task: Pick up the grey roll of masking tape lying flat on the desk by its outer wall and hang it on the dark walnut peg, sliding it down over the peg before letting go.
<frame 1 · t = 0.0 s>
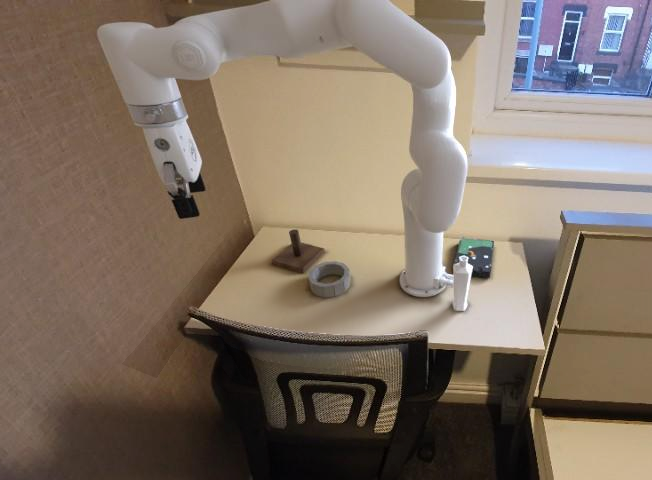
hand: (193, 203, 73), 31 cm above the table, tool pointing down, fingers open, 9 cm apart
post: (299, 258, 111), on the table
disk drive: (474, 261, 114), on the table
tape roll: (330, 283, 103), on the table
perfume bottle: (460, 306, 99), on the table
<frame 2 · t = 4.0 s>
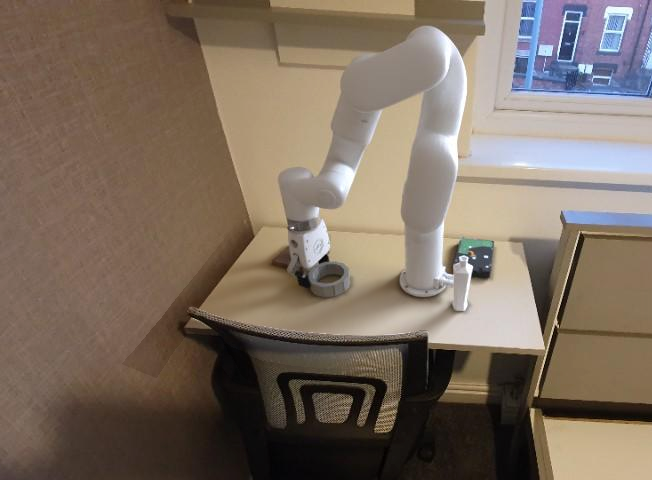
hand: (314, 275, 103), 1 cm above the table, tool pointing down, fingers closed on tape roll, 8 cm apart
tape roll: (330, 283, 103), on the table, touching gripper
everything else where it was.
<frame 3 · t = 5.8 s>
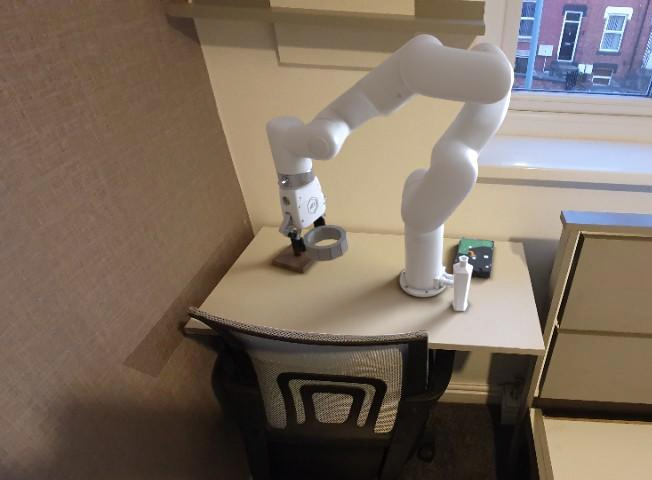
hand: (310, 240, 97), 13 cm above the table, tool pointing down, fingers closed on tape roll, 8 cm apart
tape roll: (327, 248, 96), point 12 cm above the table, touching gripper
everything else where it was.
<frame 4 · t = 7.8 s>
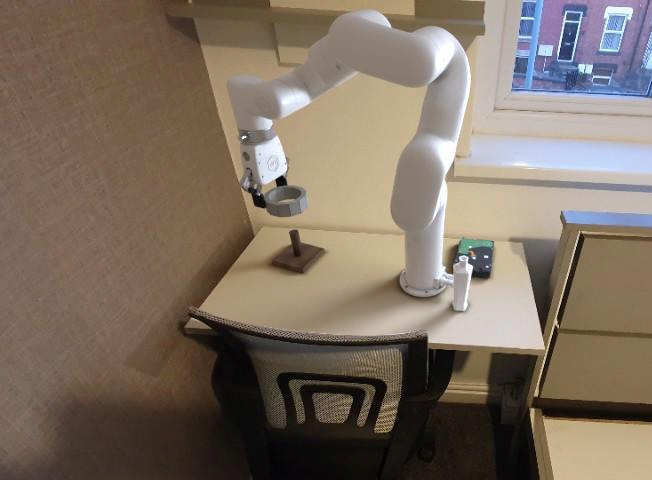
hand: (272, 198, 102), 18 cm above the table, tool pointing down, fingers closed on tape roll, 8 cm apart
tape roll: (287, 206, 101), point 17 cm above the table, touching gripper
everything else where it was.
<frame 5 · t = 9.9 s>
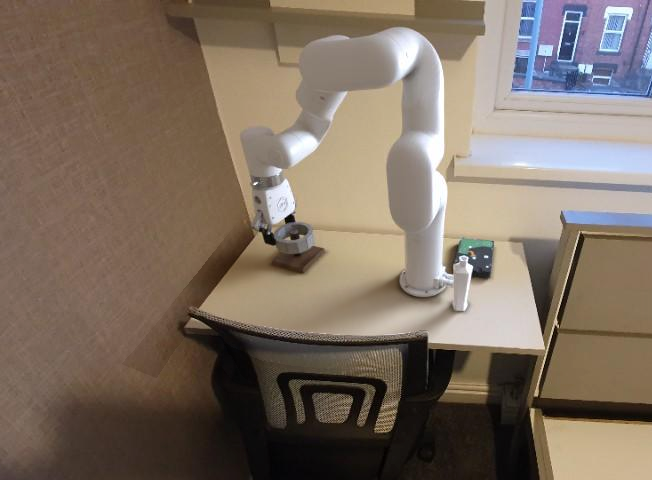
hand: (281, 235, 108), 7 cm above the table, tool pointing down, fingers closed on tape roll, 8 cm apart
tape roll: (295, 242, 108), point 5 cm above the table, touching gripper
everything else where it was.
when the fingers open (3 cm above the table, at t = 11.8 s): tape roll stays where it is, resting on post.
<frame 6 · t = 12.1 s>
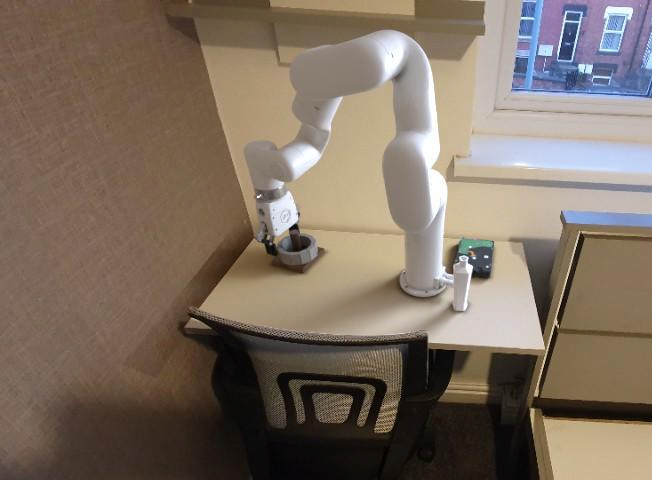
hand: (284, 244, 110), 3 cm above the table, tool pointing down, fingers open, 9 cm apart
tape roll: (298, 254, 110), point 1 cm above the table, touching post
everything else where it was.
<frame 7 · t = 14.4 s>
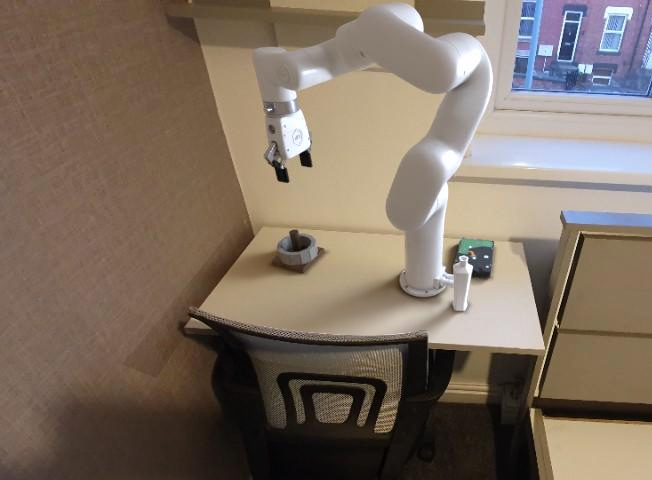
hand: (295, 173, 102), 24 cm above the table, tool pointing down, fingers open, 9 cm apart
nothing on the table moved.
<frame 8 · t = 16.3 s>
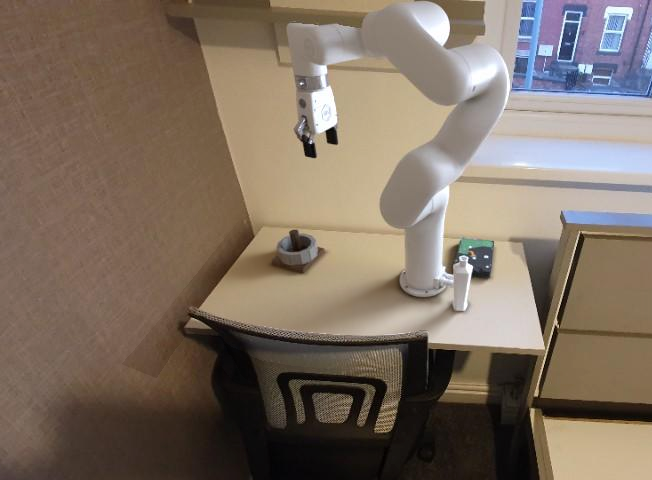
hand: (322, 150, 103), 28 cm above the table, tool pointing down, fingers open, 9 cm apart
nothing on the table moved.
at the end: tape roll 0.1 cm from the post (horizontally); tape roll point 1.5 cm above the table; the gripper is holding nothing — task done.
